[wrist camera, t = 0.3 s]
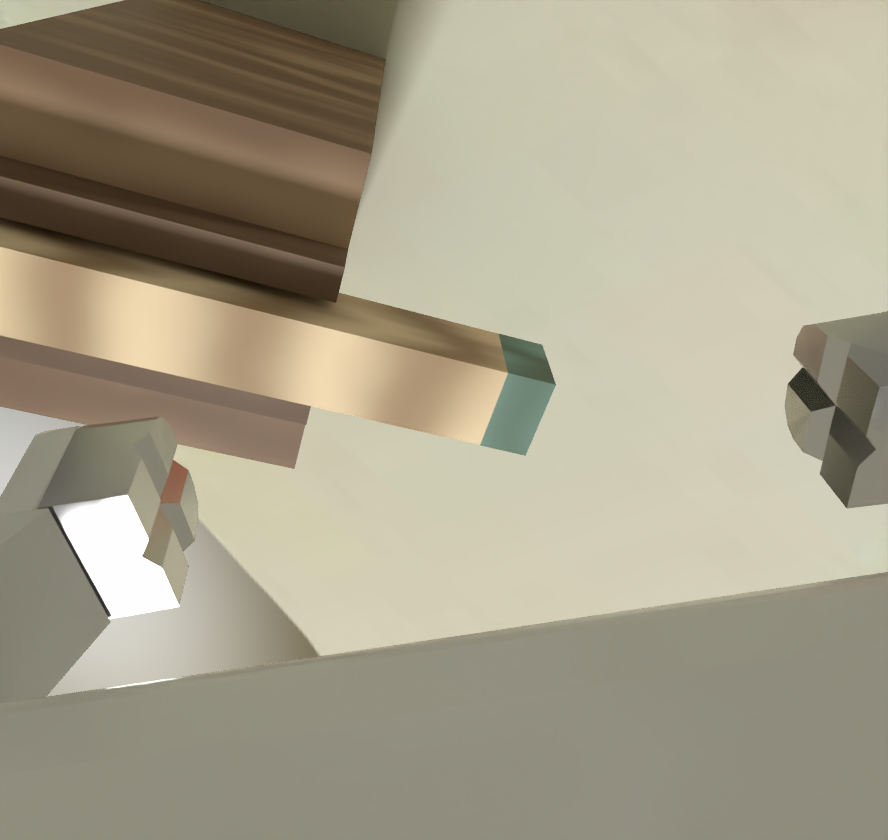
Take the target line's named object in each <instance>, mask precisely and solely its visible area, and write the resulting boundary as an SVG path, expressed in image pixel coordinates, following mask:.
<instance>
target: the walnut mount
mask: <svg viewBox="0 0 888 840" xmlns="http://www.w3.org/2000/svg"><path fill="white" fill-rule="evenodd" d="M384 65H385V60H384V59H381V58H378V57H375V56H372V55H369V54H366V53H363V52H359V51H356V50H353V49H350V48H347V47H344V46H341V45H338V44H334V43H331V42H328V41H325V40H322V39H319V38H316V37H312V36H309V35H306V34H303V33H300V32H297V31H294V30H291V29H287V28H284V27H281V26H278V25H275V24H272V23H269V22H266V21H262V20H259V19H256V18H253V17H250V16H247V15H244V14H241V13H237V12H234V11H231V10H228V9H225V8H222V7H219V6H216V5H212V4H209V3H206V2H203V1H200V0H124V1H120V2H115V3H111V4H107V5H102V6H98V7H94V8H90V9H85V10H81V11H77V12H72V13H68V14H64V15H59V16H55V17H51V18H46V19H42V20H38V21H33V22H29V23H25V24H20V25H16V26H12V27H8V28H3V29H0V217H2V218H6V219H9V220H13V221H17V222H21V223H25V224H29V225H33V226H37V227H41V228H45V229H49V230H53V231H56V232H60V233H64V234H68V235H72V236H76V237H80V238H84V239H88V240H92V241H96V242H100V243H103V244H107V245H111V246H115V247H119V248H123V249H127V250H131V251H135V252H139V253H143V254H147V255H150V256H154V257H158V258H162V259H166V260H170V261H174V262H178V263H182V264H186V265H190V266H194V267H197V268H201V269H205V270H209V271H213V272H217V273H221V274H225V275H229V276H233V277H237V278H241V279H244V280H248V281H252V282H256V283H260V284H264V285H268V286H272V287H276V288H280V289H284V290H287V291H291V292H295V293H299V294H303V295H307V296H311V297H315V298H319V299H323V300H327V301H331V302H334V303H336V301H337V297H338V293H339V289H340V285H341V281H342V276H343V272H344V268H345V263H346V257H347V252H348V247H349V243H350V239H351V235H352V231H353V227H354V222H355V218H356V214H357V210H358V206H359V202H360V198H361V194H362V190H363V186H364V182H365V177H366V173H367V169H368V165H369V161H370V157H371V152H372V146H373V139H374V132H375V125H376V119H377V112H378V105H379V99H380V92H381V85H382V79H383V72H384ZM0 406H1V407H5V408H10V409H15V410H20V411H25V412H29V413H34V414H39V415H43V416H48V417H53V418H58V419H62V420H67V421H71V422H76V423H81V424H86V425H94V424H102V423H110V422H119V421H127V420H135V419H143V418H151V417H159V416H161V417H163V418H164V419H165V420H166V421H168V422H169V424H170V426H171V429H172V431H173V433H174V436H175V438H176V440H177V442H178V444H180V445H185V446H189V447H194V448H199V449H204V450H208V451H213V452H218V453H222V454H227V455H232V456H237V457H241V458H246V459H251V460H255V461H260V462H265V463H270V464H274V465H279V466H284V467H288V468H293V469H294V468H295V464H296V460H297V456H298V452H299V448H300V444H301V439H302V435H303V431H304V427H305V425H306V423H307V419H308V415H309V411H310V407H311V406H308V405H303V404H299V403H294V402H290V401H286V400H281V399H277V398H273V397H268V396H264V395H259V394H255V393H251V392H246V391H242V390H238V389H233V388H229V387H224V386H220V385H216V384H211V383H207V382H202V381H198V380H194V379H189V378H185V377H181V376H176V375H172V374H167V373H163V372H159V371H154V370H150V369H146V368H141V367H137V366H132V365H128V364H124V363H119V362H115V361H110V360H106V359H102V358H97V357H93V356H89V355H84V354H80V353H75V352H71V351H67V350H62V349H58V348H54V347H49V346H45V345H40V344H36V343H32V342H27V341H23V340H18V339H14V338H10V337H5V336H1V335H0Z"/></svg>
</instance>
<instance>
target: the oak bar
mask: <svg viewBox="0 0 888 840" xmlns="http://www.w3.org/2000/svg"><path fill="white" fill-rule="evenodd" d="M0 335H1V336H5V337H10V338H14V339H18V340H23V341H27V342H32V343H36V344H40V345H45V346H49V347H54V348H58V349H62V350H67V351H71V352H75V353H80V354H84V355H89V356H93V357H97V358H102V359H106V360H110V361H115V362H119V363H124V364H128V365H132V366H137V367H141V368H146V369H150V370H154V371H159V372H163V373H167V374H172V375H176V376H181V377H185V378H189V379H194V380H198V381H202V382H207V383H211V384H216V385H220V386H224V387H229V388H233V389H238V390H242V391H246V392H251V393H255V394H259V395H264V396H268V397H273V398H277V399H281V400H286V401H290V402H294V403H299V404H303V405H308V406H312V407H316V408H321V409H325V410H330V411H334V412H338V413H343V414H347V415H351V416H356V417H360V418H365V419H369V420H373V421H378V422H382V423H386V424H391V425H395V426H400V427H404V428H408V429H413V430H417V431H421V432H426V433H430V434H435V435H439V436H443V437H448V438H452V439H457V440H461V441H465V442H470V443H474V444H478V445H481V446H486V447H490V448H494V449H499V450H503V451H508V452H512V453H516V454H521V455H526V453H527V451H528V448H529V446H530V444H531V441H532V439H533V437H534V434H535V432H536V430H537V427H538V425H539V423H540V420H541V418H542V416H543V413H544V411H545V409H546V406H547V404H548V402H549V399H550V397H551V395H552V392H553V390H554V388H555V385H556V384H555V381H554V378H553V375H552V372H551V369H550V366H549V363H548V360H547V357H546V355H545V352H544V349H543V346H542V345H541V344H537V343H533V342H529V341H525V340H521V339H517V338H513V337H510V336H506V335H502V334H497V333H493V332H489V331H485V330H481V329H477V328H473V327H470V326H466V325H462V324H458V323H454V322H450V321H446V320H442V319H439V318H435V317H431V316H427V315H423V314H419V313H415V312H411V311H408V310H404V309H400V308H396V307H392V306H388V305H384V304H380V303H377V302H373V301H369V300H365V299H361V298H357V297H353V296H349V295H346V294H342V293H338V297H337V301H336V303H334V302H331V301H327V300H323V299H319V298H315V297H311V296H307V295H303V294H299V293H295V292H291V291H287V290H284V289H280V288H276V287H272V286H268V285H264V284H260V283H256V282H252V281H248V280H244V279H241V278H237V277H233V276H229V275H225V274H221V273H217V272H213V271H209V270H205V269H201V268H197V267H194V266H190V265H186V264H182V263H178V262H174V261H170V260H166V259H162V258H158V257H154V256H150V255H147V254H143V253H139V252H135V251H131V250H127V249H123V248H119V247H115V246H111V245H107V244H103V243H100V242H96V241H92V240H88V239H84V238H80V237H76V236H72V235H68V234H64V233H60V232H56V231H53V230H49V229H45V228H41V227H37V226H33V225H29V224H25V223H21V222H17V221H13V220H9V219H6V218H2V217H0Z"/></svg>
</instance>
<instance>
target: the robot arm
mask: <svg viewBox="0 0 888 840" xmlns="http://www.w3.org/2000/svg"><path fill="white" fill-rule="evenodd" d="M793 355H794V356H795V358H796V359H797V361H798V362H799V364H800V365H801V366H802V368H801V370H800V371H799V372H798V373H797V374H796V375H795V376H794V377H793V379H792V380H791V381H790V382H789V383H788V386H787V393H786V400H785V411H786V418H787V425H788V427H789V430H790V432H791V434H792V437H793V439H794V441H795V442H796V443H797V445H798V446H799V447H800V449H801V450H802V451H803V452H804V453H806V454H809V455H811V456H813V457H815V458H817V459H819V460H822V461H823V462H822V466H821V471H820V475H821V476H822V477H823V479H824V480H825V481H826V483H827V484H828V485H829V486H830V488H831V489H832V490H833V492H834V493H835V494H836V495H837V497H838V498H839V499H840V500H841V502H842V503H843V504H844V506H845V507H846V508H854V507H863V506H871V505H879V504H888V311H887V312H882V313H877V314H871V315H865V316H859V317H853V318H847V319H841V320H835V321H829V322H823V323H817V324H811V325H805V326H803V327H802V329H801V331H800V333H799V334H798V336H797V339H796V344H795V349H794V354H793ZM177 444H178V442H177V440H176V438H175V436H174V433H173V431H172V429H171V426H170V424H169V422H168V421H166V420H165V419H164V418H163V417H161V416H159V417H151V418H143V419H135V420H127V421H119V422H110V423H102V424H94V425H86V426H83V427H79V426H76V427H69V428H63V429H56V430H50V431H44V432H42V433H40V434H37V435H36V436H35V437H34V438H33V440H32V442H31V444H30V445H29V447H28V449H27V451H26V452H25V454H24V456H23V458H22V459H21V461H20V463H19V465H18V467H17V468H16V470H15V472H14V474H13V475H12V477H11V479H10V481H9V483H8V484H7V486H6V488H5V490H4V491H3V493H2V495H1V497H0V840H888V572H885V573H878V574H871V575H864V576H858V577H851V578H844V579H837V580H831V581H824V582H817V583H810V584H803V585H797V586H790V587H783V588H776V589H770V590H763V591H756V592H749V593H742V594H736V595H729V596H722V597H715V598H709V599H702V600H695V601H688V602H681V603H675V604H668V605H661V606H655V607H648V608H641V609H635V610H628V611H621V612H615V613H608V614H601V615H595V616H588V617H581V618H575V619H568V620H561V621H555V622H548V623H541V624H535V625H528V626H521V627H515V628H508V629H501V630H495V631H488V632H481V633H475V634H468V635H461V636H454V637H448V638H441V639H434V640H427V641H420V642H414V643H407V644H400V645H393V646H387V647H380V648H373V649H366V650H360V651H353V652H346V653H339V654H333V655H326V656H319V657H312V658H306V659H299V660H292V661H285V662H279V663H272V664H265V665H259V666H252V667H245V668H239V669H231V670H224V671H218V672H211V673H204V674H197V675H191V676H184V677H177V678H170V679H164V680H157V681H150V682H143V683H137V684H130V685H123V686H116V687H110V688H103V689H96V690H89V691H83V692H76V693H69V694H63V695H56V696H49V697H46V696H47V695H48V694H49V693H50V691H51V690H52V689H53V688H54V687H55V686H56V684H57V683H58V682H59V681H60V680H61V679H62V678H63V676H64V675H65V674H66V673H67V672H68V671H69V669H70V668H71V667H72V666H73V665H74V664H75V662H76V661H77V660H78V659H79V658H80V657H81V656H82V654H83V653H84V652H85V651H86V650H87V649H88V647H89V646H90V645H91V644H92V643H93V642H94V641H95V639H96V638H97V637H98V636H99V635H100V634H101V632H102V631H103V630H104V629H105V628H106V627H107V626H108V624H109V623H110V618H115V617H121V616H127V615H132V614H138V613H144V612H149V611H155V610H161V609H166V608H172V607H178V606H179V605H180V600H181V596H182V593H183V588H184V584H185V580H186V576H187V571H188V567H189V565H188V563H187V560H186V558H185V556H184V553H183V551H184V550H185V549H186V548H187V547H188V546H189V545H190V544H191V543H193V542H194V541H195V537H196V532H197V528H198V501H197V496H196V492H195V487H194V484H193V481H192V478H191V476H190V473H189V470H187V469H186V468H184V467H183V466H181V465H180V464H179V463H177V462H176V461H174V460H173V458H174V454H175V451H176V447H177Z"/></svg>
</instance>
